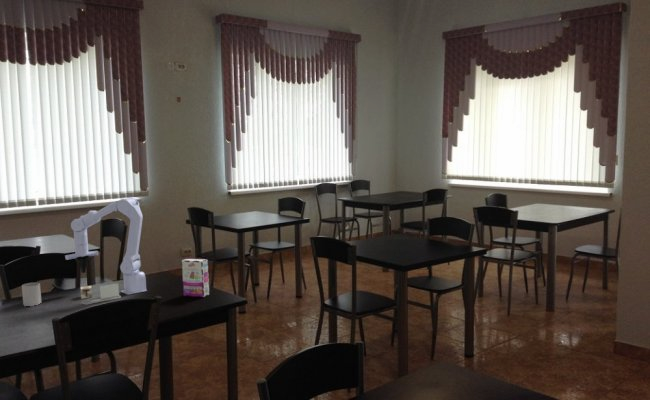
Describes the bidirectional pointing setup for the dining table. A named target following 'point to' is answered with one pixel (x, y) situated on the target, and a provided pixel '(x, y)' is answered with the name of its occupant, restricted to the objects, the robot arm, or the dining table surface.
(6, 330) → the dining table surface
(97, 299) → the rail
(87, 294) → the letter block
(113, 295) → the grey flat block
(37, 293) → the cup
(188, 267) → the candy bar box
